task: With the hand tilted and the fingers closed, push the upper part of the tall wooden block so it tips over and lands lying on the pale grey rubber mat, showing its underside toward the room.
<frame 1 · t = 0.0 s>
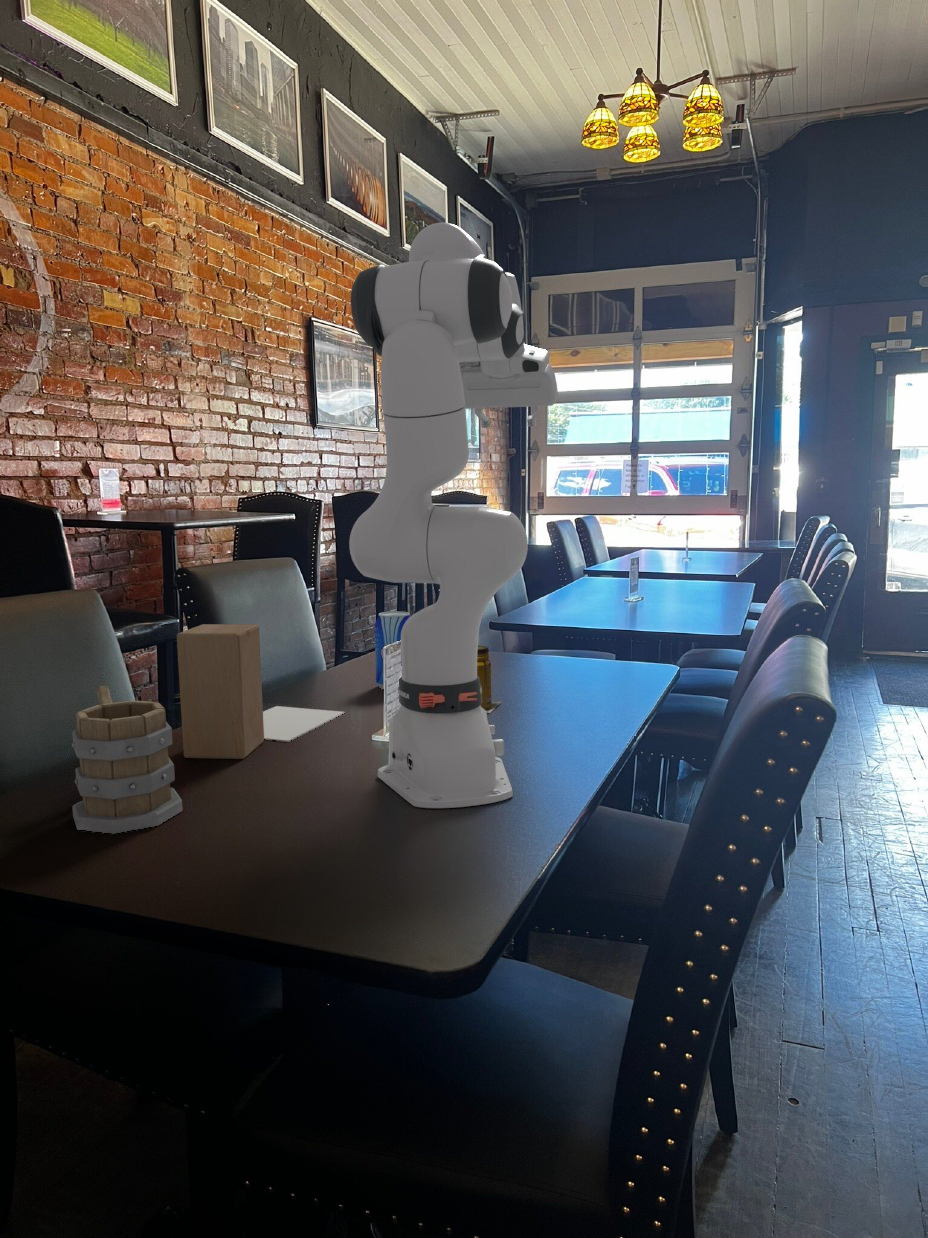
hand: (509, 426, 172), 54 cm above the table, tool tilted 30°, fingers open, 8 cm apart
tankard: (124, 807, 114), on the table
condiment: (477, 708, 165), on the table
beer can: (395, 688, 183), on the table
mat: (282, 723, 154), on the table
wooden block: (225, 751, 139), on the table
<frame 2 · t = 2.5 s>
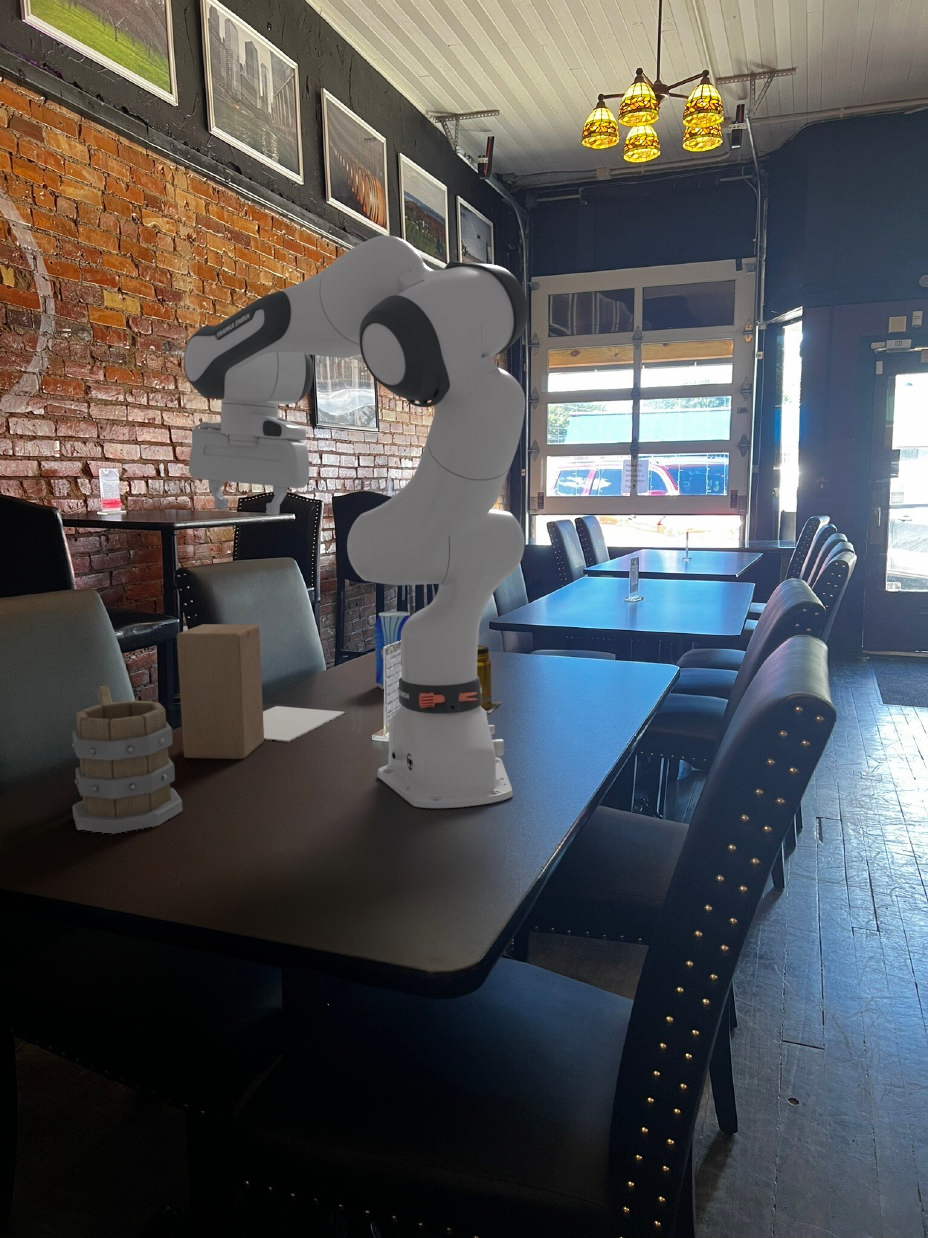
hand: (246, 511, 139), 38 cm above the table, tool pointing down, fingers open, 8 cm apart
nothing on the table moved.
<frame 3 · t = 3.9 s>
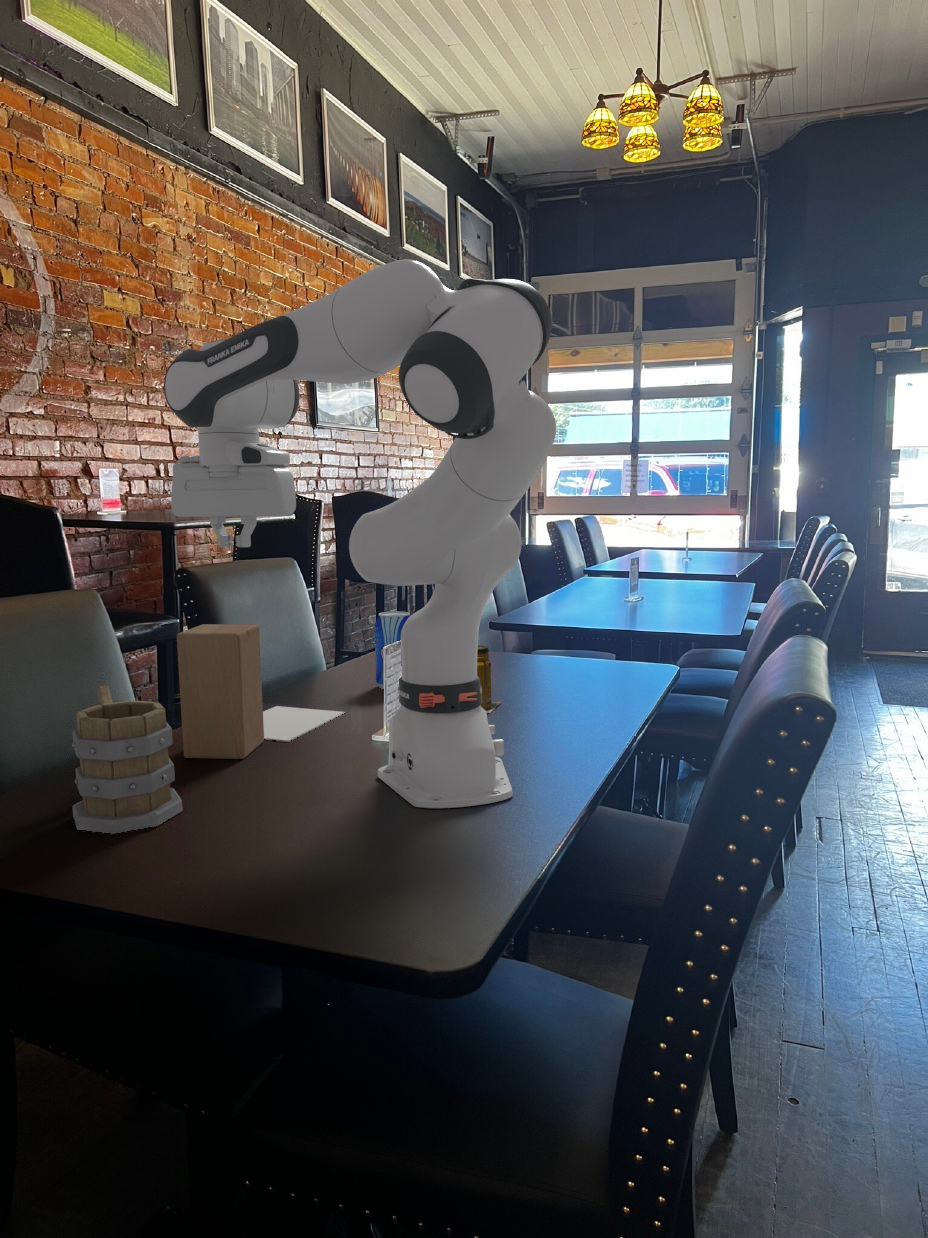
hand: (234, 546, 130), 33 cm above the table, tool pointing down, fingers closed
nothing on the table moved.
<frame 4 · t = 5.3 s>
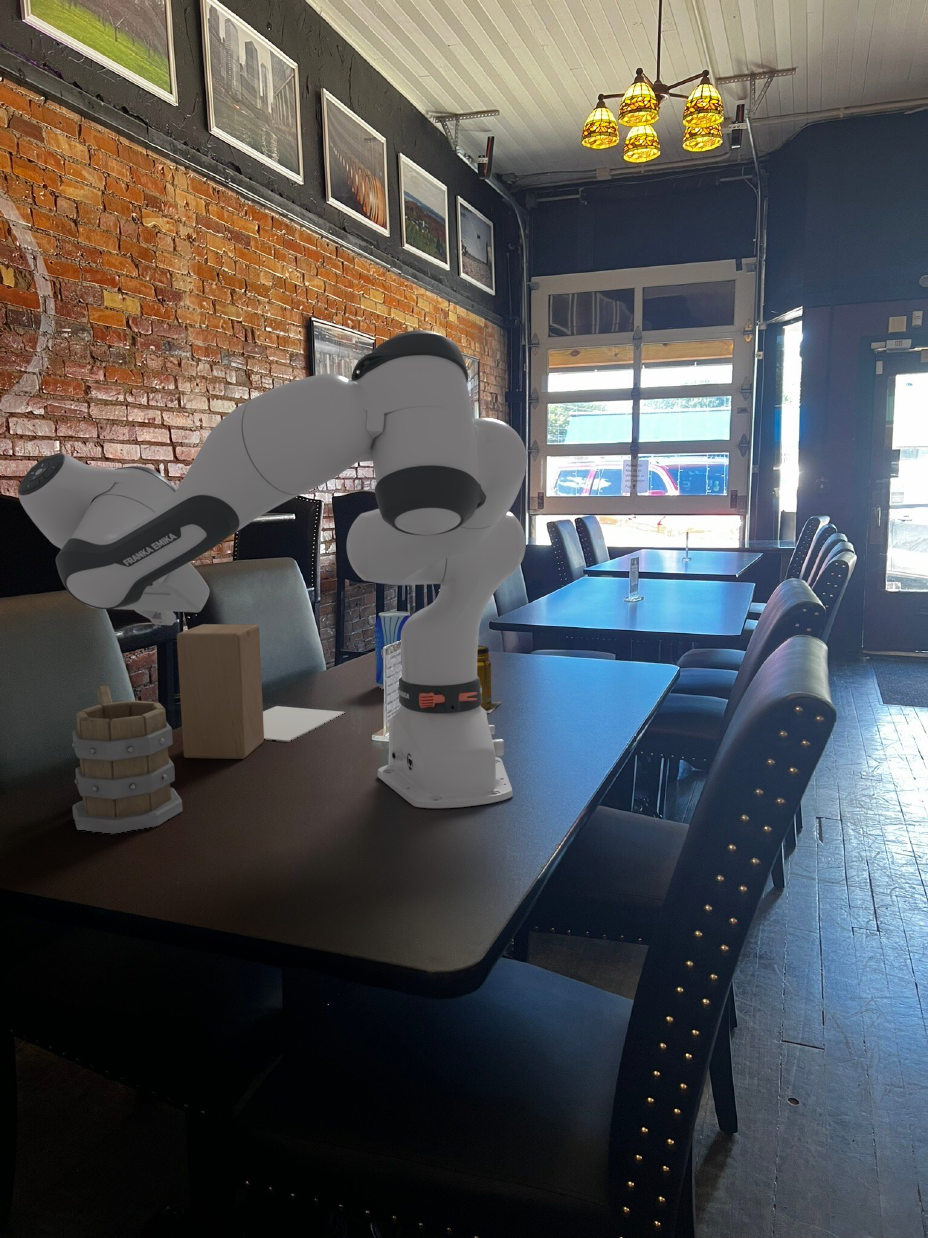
hand: (166, 621, 124), 23 cm above the table, tool tilted 45°, fingers closed
nothing on the table moved.
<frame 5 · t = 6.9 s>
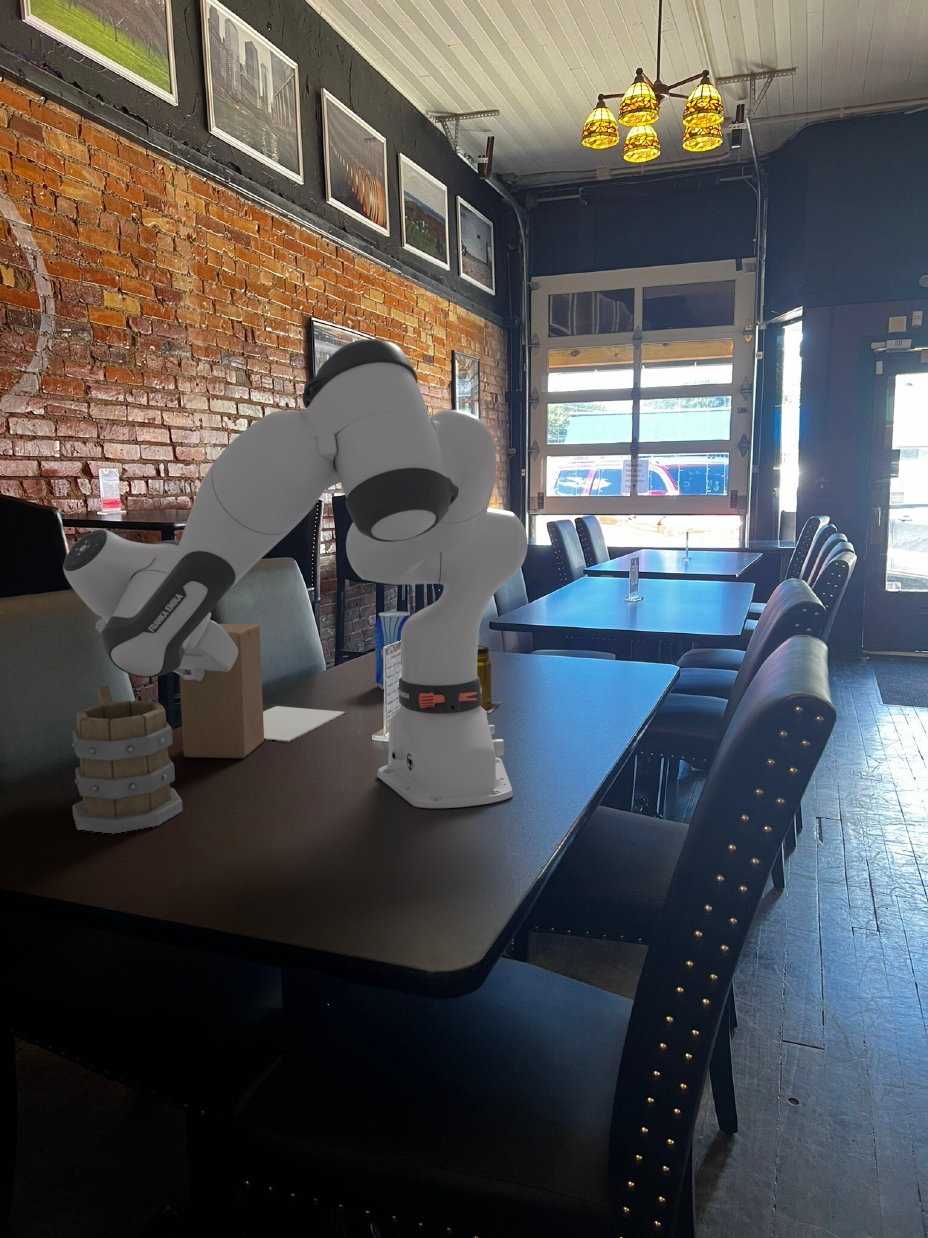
hand: (195, 676, 131), 13 cm above the table, tool tilted 45°, fingers closed
wooden block: (225, 750, 139), on the table, touching gripper
everything else where it was.
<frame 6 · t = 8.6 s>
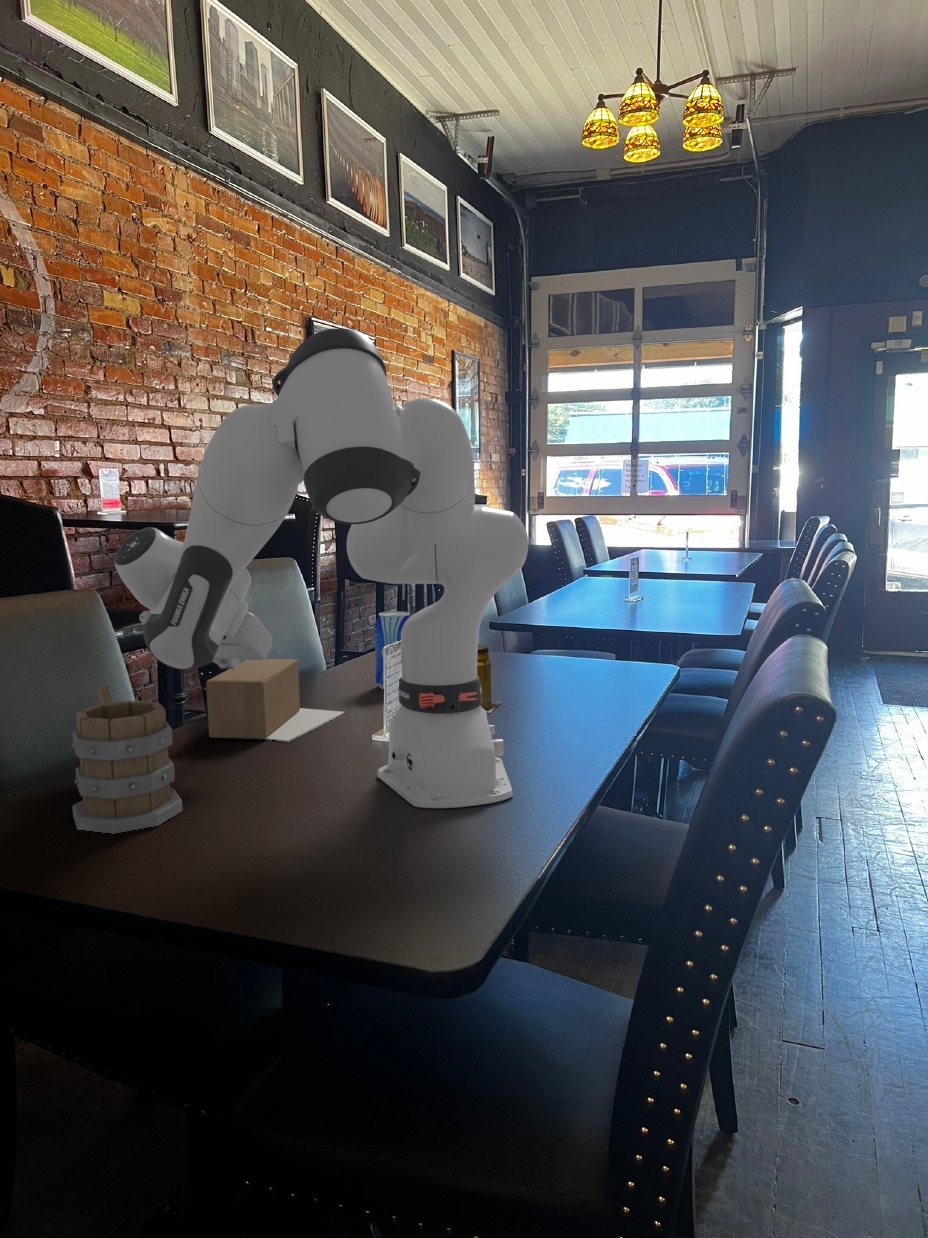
hand: (231, 665, 140), 13 cm above the table, tool tilted 45°, fingers closed
wooden block: (234, 710, 143), point 5 cm above the table, touching mat
everything else where it was.
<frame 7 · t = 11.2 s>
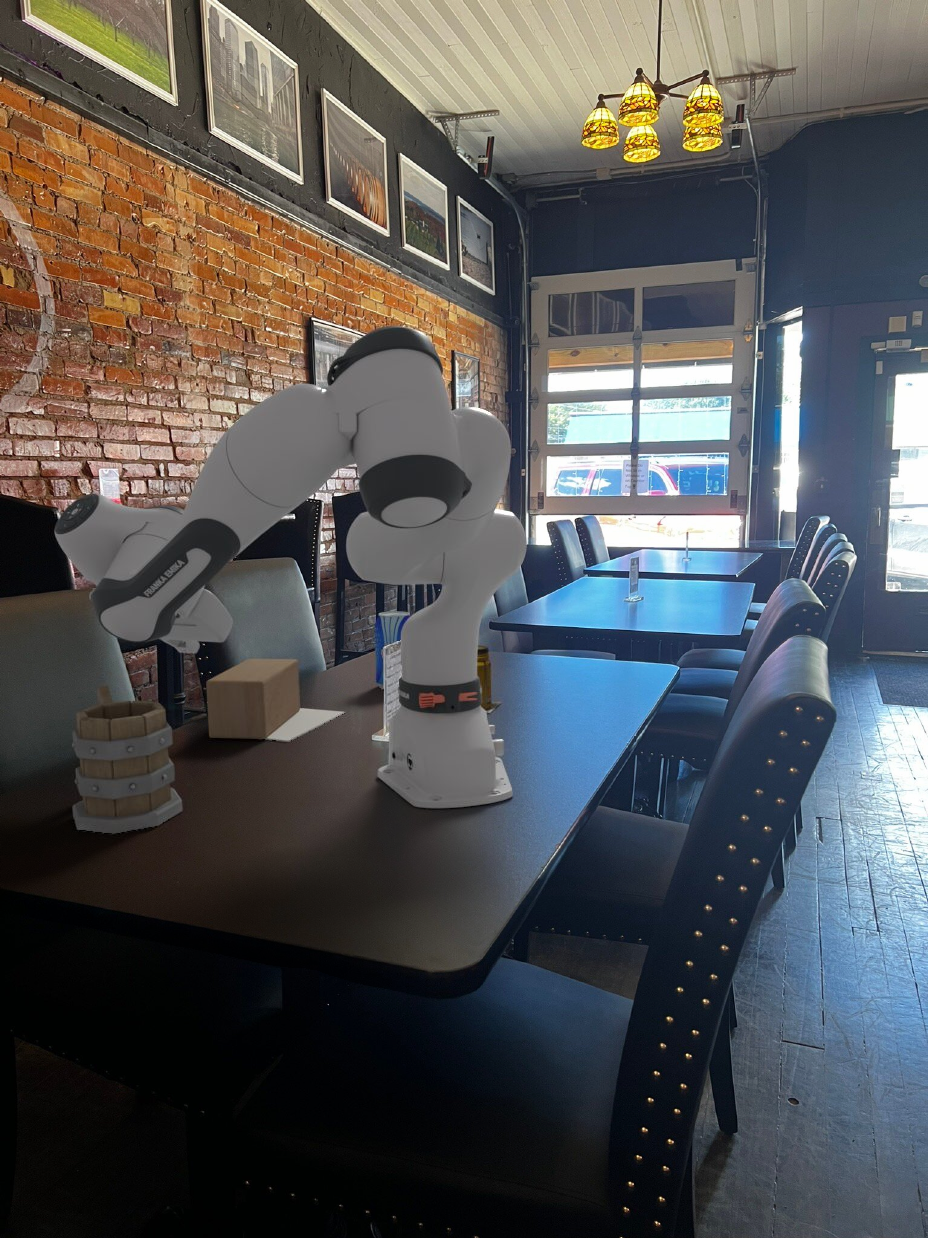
hand: (190, 649, 129), 18 cm above the table, tool tilted 45°, fingers closed
nothing on the table moved.
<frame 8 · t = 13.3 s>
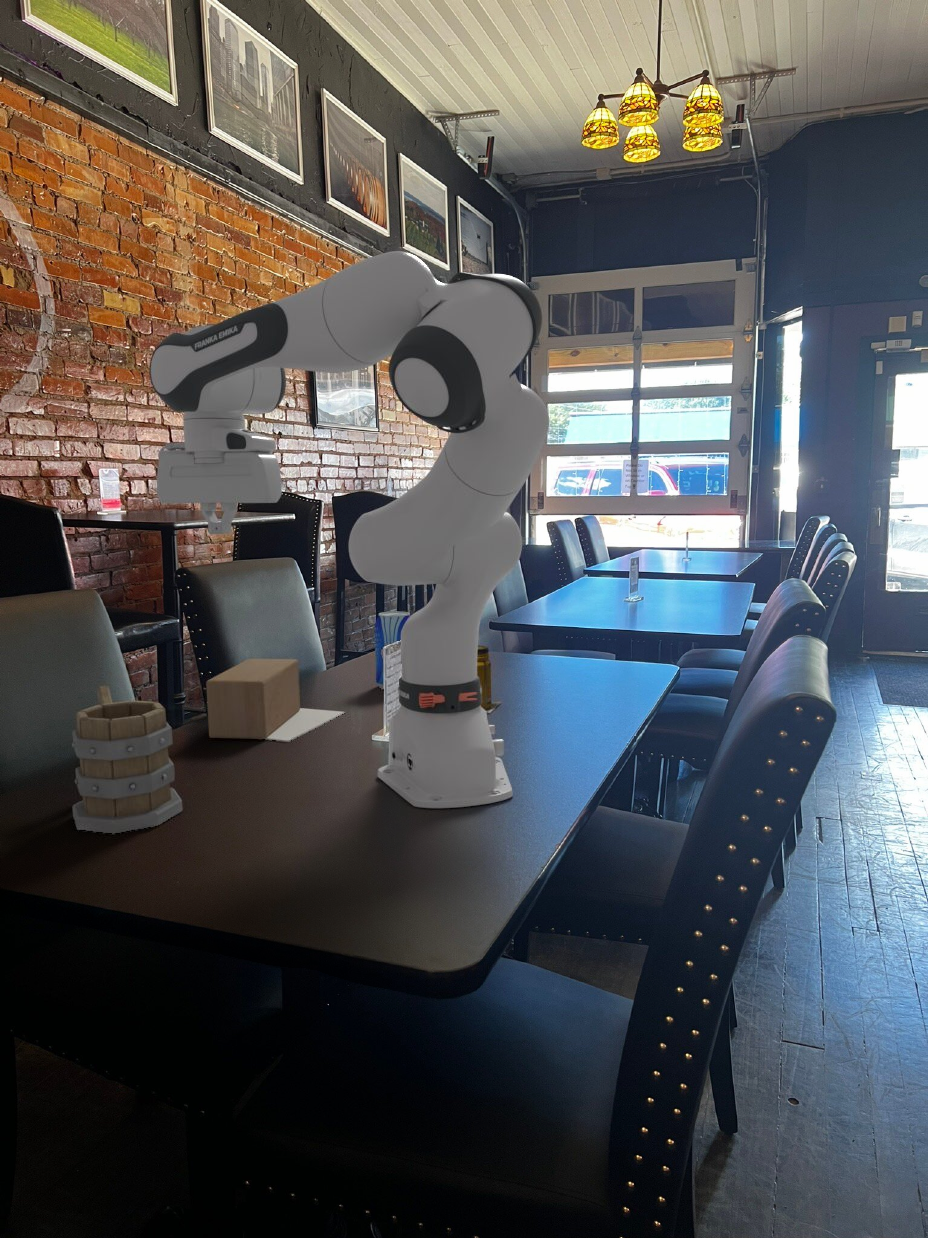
hand: (220, 534, 129), 35 cm above the table, tool pointing down, fingers closed
nothing on the table moved.
at the end: wooden block tilted 90°; wooden block 12.3 cm from the mat (horizontally) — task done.
